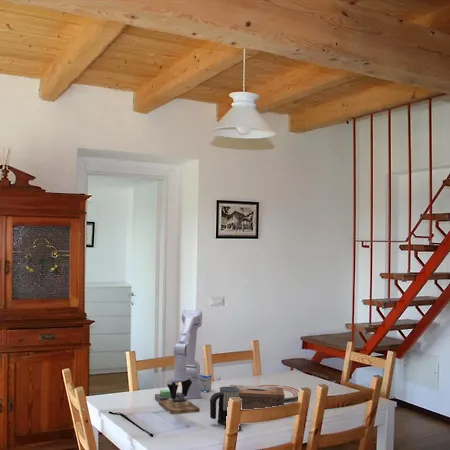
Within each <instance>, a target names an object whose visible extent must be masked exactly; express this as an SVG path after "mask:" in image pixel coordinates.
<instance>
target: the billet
mask: <svg viewBox="0 0 450 450" xmlns="http://www.w3.org/2000/svg"><path fill="white" fill-rule="evenodd" d="M184 396H185V394H183V393H182V392H178V391H177V392H176V399H172V401H173V402H184Z"/></svg>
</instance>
